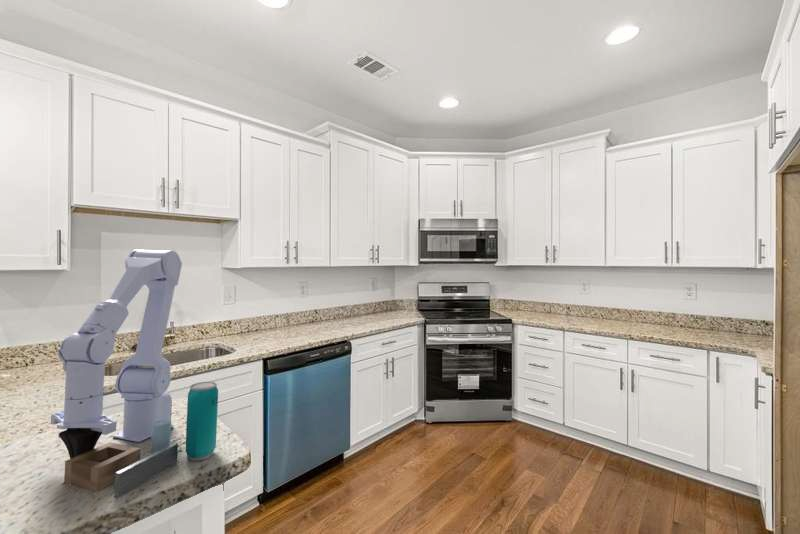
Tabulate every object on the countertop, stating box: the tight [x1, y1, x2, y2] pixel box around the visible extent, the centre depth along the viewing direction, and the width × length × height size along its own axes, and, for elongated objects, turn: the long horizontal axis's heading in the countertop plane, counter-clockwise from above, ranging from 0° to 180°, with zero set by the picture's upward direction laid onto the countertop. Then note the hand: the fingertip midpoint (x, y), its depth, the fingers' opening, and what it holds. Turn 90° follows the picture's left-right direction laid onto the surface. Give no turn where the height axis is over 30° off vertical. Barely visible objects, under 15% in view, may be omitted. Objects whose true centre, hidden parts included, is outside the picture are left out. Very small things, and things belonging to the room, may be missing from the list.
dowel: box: [150, 420, 172, 455], centre depth 78 cm, size 3×3×7 cm
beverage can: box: [185, 381, 219, 462], centre depth 79 cm, size 6×6×15 cm
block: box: [63, 441, 141, 492], centre depth 70 cm, size 8×8×4 cm
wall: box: [113, 442, 179, 498], centre depth 70 cm, size 12×1×4 cm, turn 165°
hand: (81, 465), depth 71 cm, fingers closed
